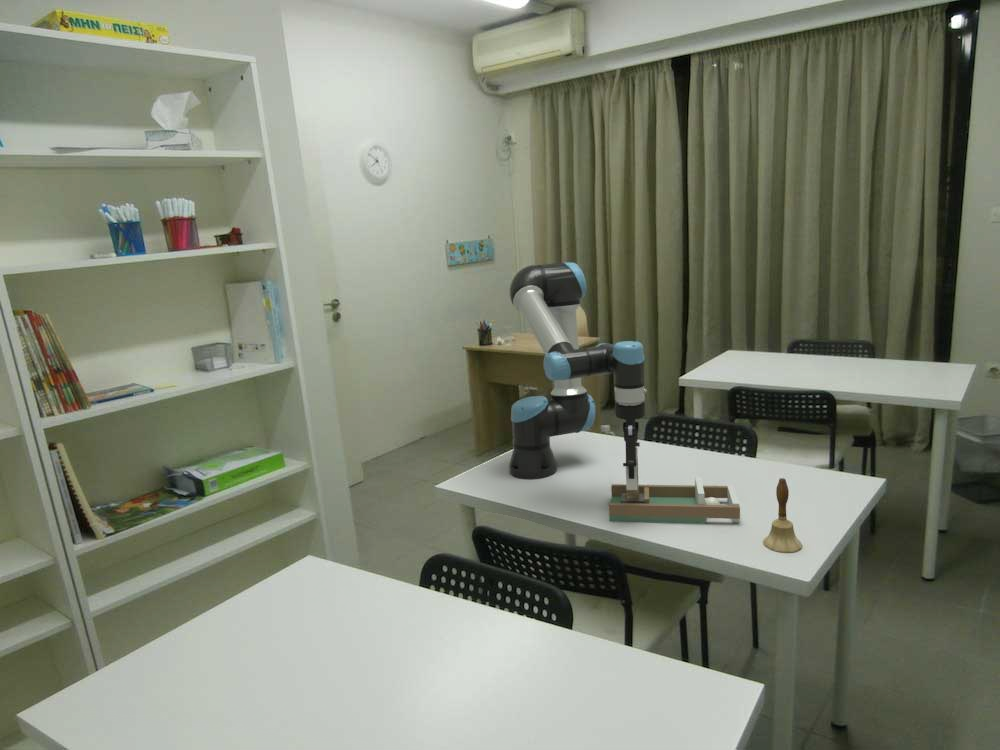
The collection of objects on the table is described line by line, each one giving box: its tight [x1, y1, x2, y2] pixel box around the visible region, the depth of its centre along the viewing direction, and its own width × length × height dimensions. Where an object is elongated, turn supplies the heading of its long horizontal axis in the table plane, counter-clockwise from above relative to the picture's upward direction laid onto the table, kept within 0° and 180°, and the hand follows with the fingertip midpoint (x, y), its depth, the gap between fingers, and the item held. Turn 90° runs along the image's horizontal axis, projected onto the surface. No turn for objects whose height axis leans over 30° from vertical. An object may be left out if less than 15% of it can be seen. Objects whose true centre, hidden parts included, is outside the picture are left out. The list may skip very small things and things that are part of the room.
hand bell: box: [762, 477, 803, 554], centre depth 149 cm, size 8×8×16 cm
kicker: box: [621, 460, 649, 504], centre depth 173 cm, size 7×8×12 cm
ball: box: [705, 497, 721, 505], centre depth 170 cm, size 4×4×4 cm
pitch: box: [608, 476, 741, 525], centre depth 172 cm, size 32×14×8 cm, turn 78°
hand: (632, 479), depth 173 cm, fingers open, 13 cm apart
